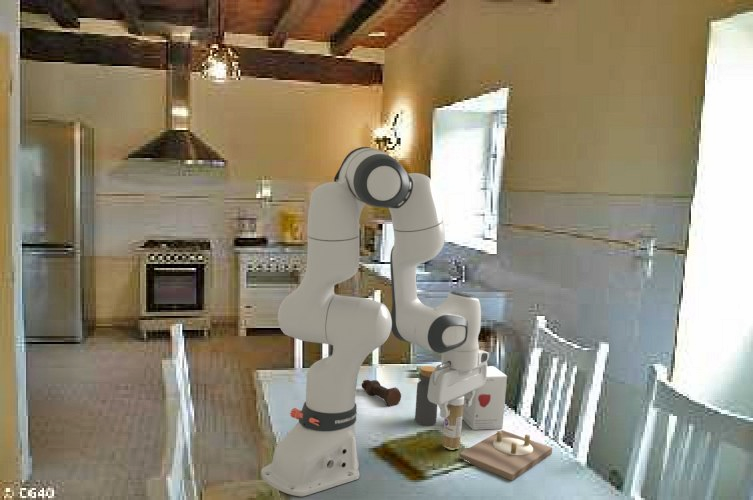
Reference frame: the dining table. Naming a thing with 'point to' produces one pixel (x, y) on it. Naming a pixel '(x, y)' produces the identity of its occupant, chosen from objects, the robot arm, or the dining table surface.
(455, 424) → the sprinkles bottle
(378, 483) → the dining table surface
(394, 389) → the bolt
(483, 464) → the pin board
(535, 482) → the dining table surface
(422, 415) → the bottle
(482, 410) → the supplement box
